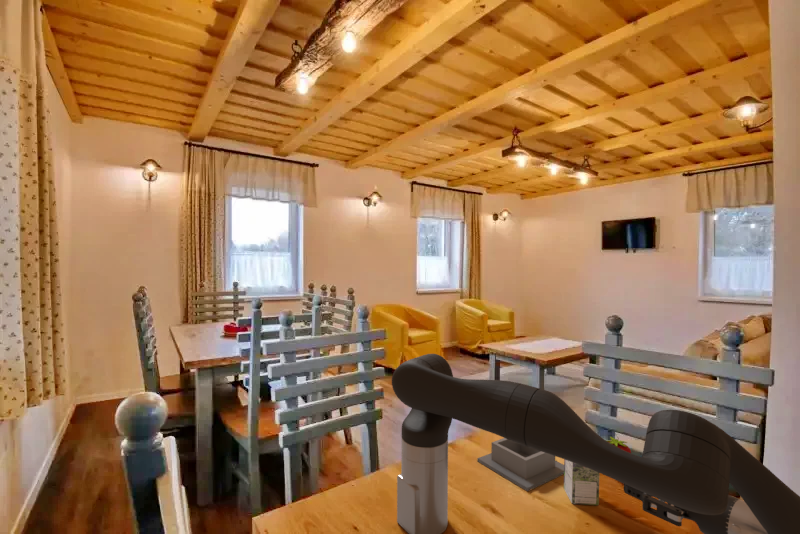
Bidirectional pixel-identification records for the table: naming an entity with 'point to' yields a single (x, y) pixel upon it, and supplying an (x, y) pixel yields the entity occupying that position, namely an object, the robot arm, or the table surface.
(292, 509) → the table surface
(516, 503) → the table surface
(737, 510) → the robot arm
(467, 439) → the table surface
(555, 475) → the holder
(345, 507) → the table surface
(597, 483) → the syrup box
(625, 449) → the strawberry
